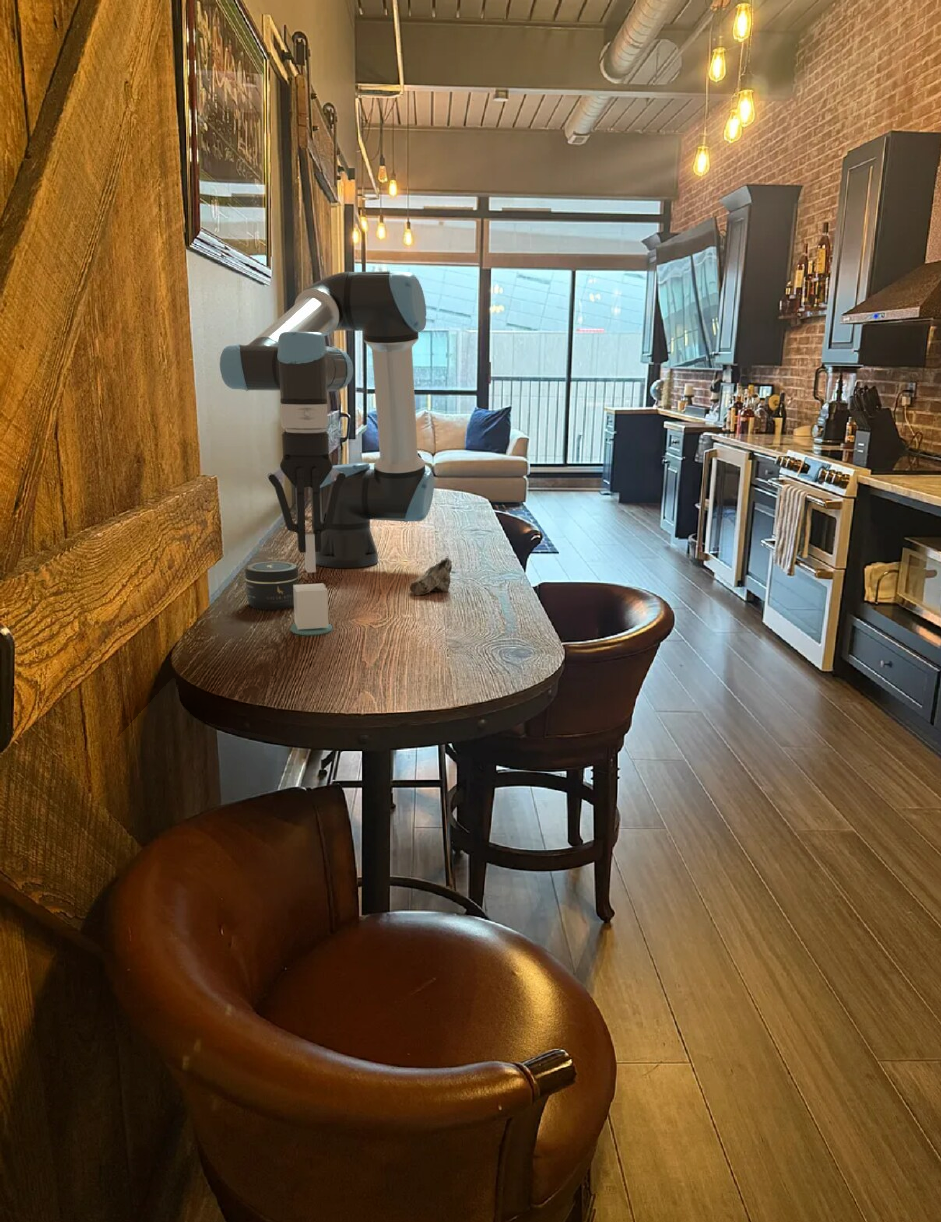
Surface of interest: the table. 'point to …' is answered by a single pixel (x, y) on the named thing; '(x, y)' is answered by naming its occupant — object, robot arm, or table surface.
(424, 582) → the rock
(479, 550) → the table surface
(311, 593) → the white rectangular block
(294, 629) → the teal post on base
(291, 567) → the jar
